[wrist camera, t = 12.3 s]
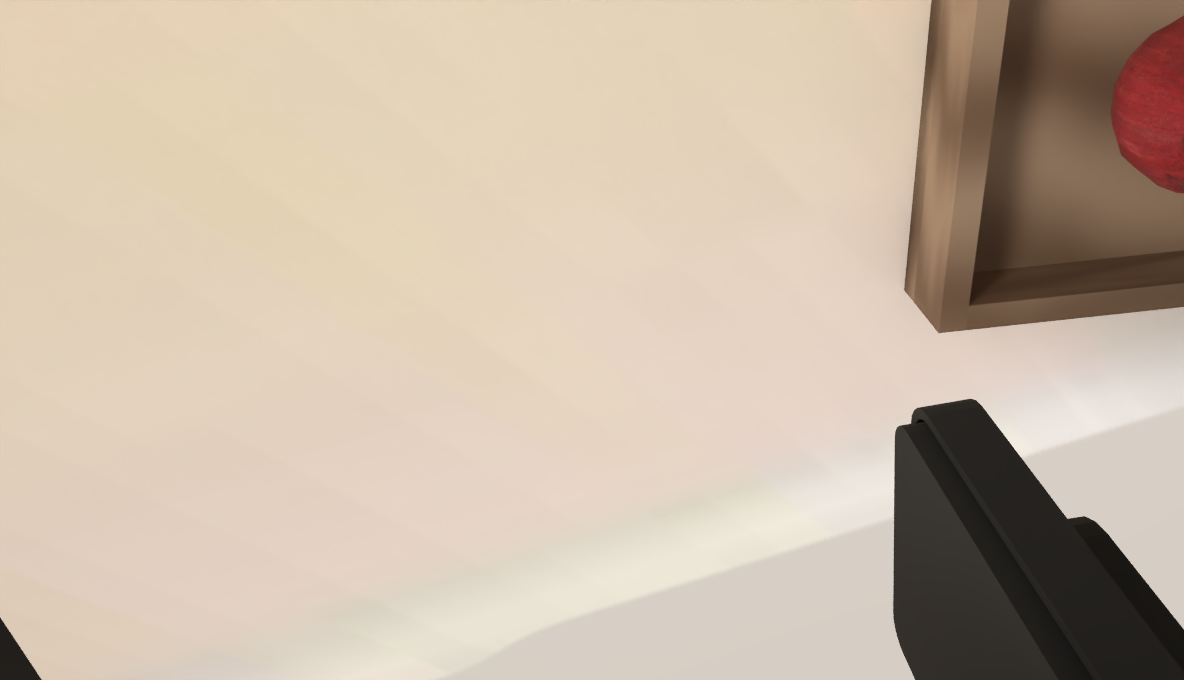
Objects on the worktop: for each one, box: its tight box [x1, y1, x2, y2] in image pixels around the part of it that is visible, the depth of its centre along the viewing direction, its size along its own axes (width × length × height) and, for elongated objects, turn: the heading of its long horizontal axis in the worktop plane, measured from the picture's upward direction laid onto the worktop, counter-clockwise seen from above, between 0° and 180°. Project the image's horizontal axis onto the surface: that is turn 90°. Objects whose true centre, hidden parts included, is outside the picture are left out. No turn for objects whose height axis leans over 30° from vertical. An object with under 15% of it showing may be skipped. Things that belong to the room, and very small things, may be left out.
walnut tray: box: [904, 0, 1184, 333], centre depth 33 cm, size 16×16×4 cm
